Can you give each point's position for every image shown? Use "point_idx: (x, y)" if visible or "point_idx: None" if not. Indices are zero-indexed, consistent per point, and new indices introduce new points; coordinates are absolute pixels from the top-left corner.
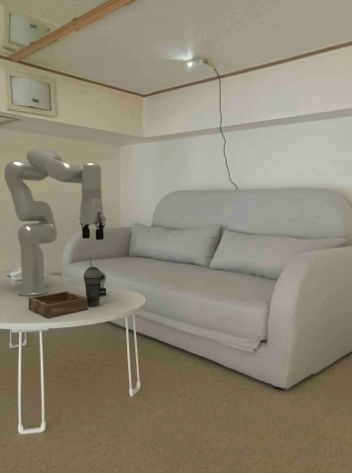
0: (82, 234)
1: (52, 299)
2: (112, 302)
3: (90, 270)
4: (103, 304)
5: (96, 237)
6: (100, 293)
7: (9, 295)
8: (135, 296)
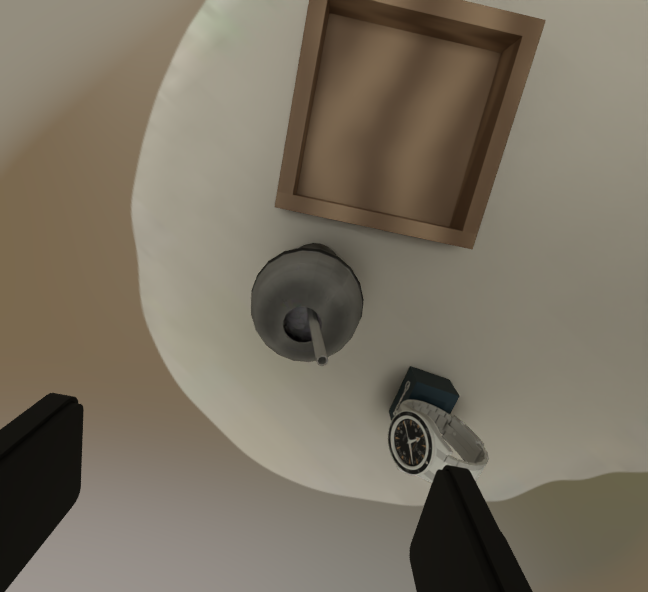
0: (484, 515)
1: (475, 158)
2: None
3: (283, 281)
4: None
5: (27, 409)
6: (400, 395)
7: None
8: (272, 453)
